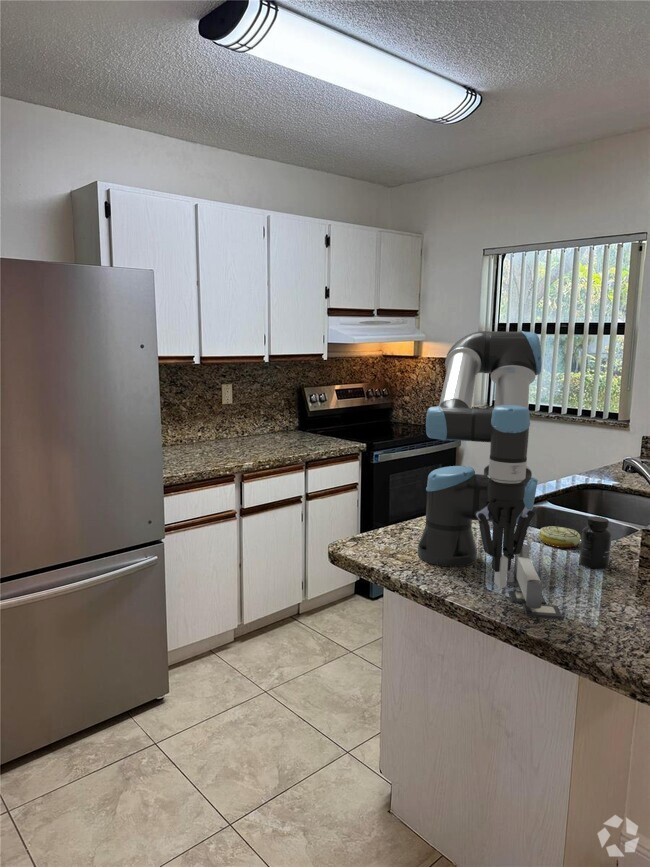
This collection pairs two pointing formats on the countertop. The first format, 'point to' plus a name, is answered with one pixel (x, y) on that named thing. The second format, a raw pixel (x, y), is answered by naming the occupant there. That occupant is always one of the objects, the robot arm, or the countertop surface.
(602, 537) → the supplement bottle
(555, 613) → the label plate
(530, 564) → the swing bar
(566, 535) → the decorated donut
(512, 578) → the pivot post
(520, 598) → the label plate
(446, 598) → the countertop surface
